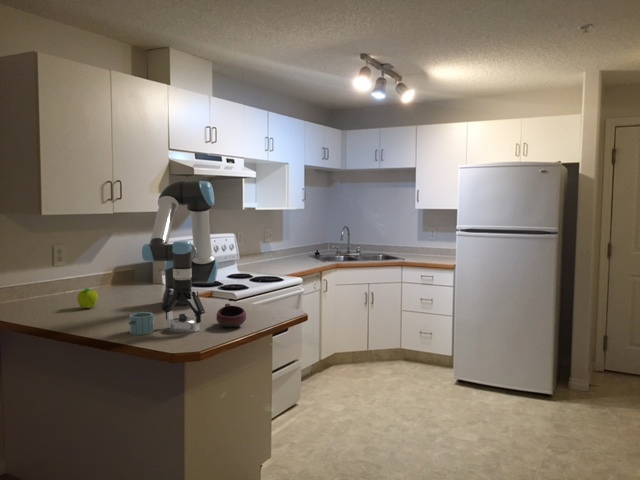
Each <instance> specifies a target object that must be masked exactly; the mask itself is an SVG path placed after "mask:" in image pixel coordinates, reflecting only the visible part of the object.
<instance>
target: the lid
mask: <svg viewBox="0 0 640 480" xmlns="http://www.w3.org/2000/svg"><path fill="white" fill-rule="evenodd" d="M169 323H170V328H169V332H171V333H175V334H183V333H184V334H186V333H192V332H195V331H194V317H189V316H188V314H187V313H179V314H178V317H176V318H173V319H172V320H170V321H169ZM191 331H192V332H191Z"/></svg>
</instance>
